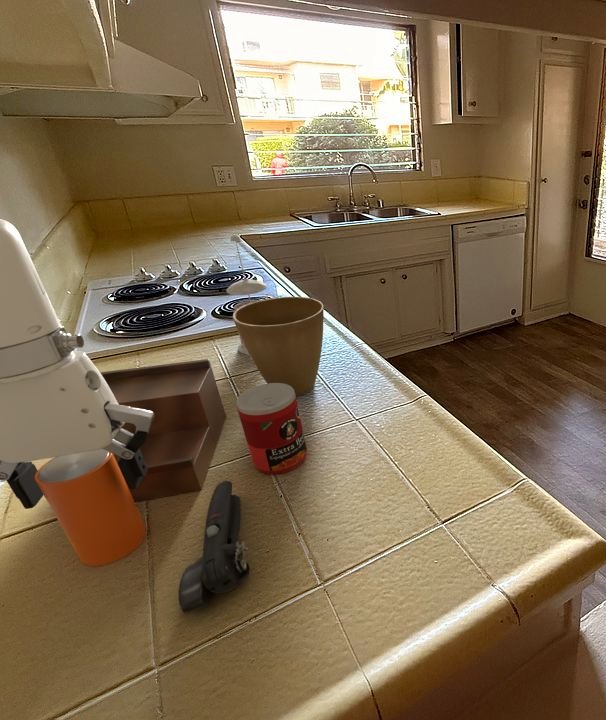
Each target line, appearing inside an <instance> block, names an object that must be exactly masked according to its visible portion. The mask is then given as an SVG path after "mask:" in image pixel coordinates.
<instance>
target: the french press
mask: <svg viewBox="0 0 606 720" xmlns="http://www.w3.org/2000/svg"><path fill="white" fill-rule="evenodd" d="M240 241H242V240H241V237H240V235H238V234H232V235H231V236H230V242H235V246H236V250H237V255H238V258H239V263H240V266H241V271H242V275H243V279H242V280H238V281H236V282H234V283H231V284H230V285H229V286H228V287H227V288H226V290H225V291H226V293H227V294H229V295H231V296H248V300H244V301H241V302H239V303H236V304H235V305H234V306H233V311H236V310H237V309H239V308H241V307H243V306H245V305H247V304H250V303H254V302H257V301H261V300H264V298H265V300H266V299H270V298H269V296H270V297H271V298H276V297H275V296H274V295H272V294H271V293H266V295H262V296H261V299H252V300H251V296H250V295H254V294H258V293H261V292H264V291H265V290H266V289H267V287H268V284H267V283H266V282H263V281H262V280H255V279H252V278H251V279H250V278H248V279H246V275H245V271H244V266H243V263H242V259H241V255H240V251H239V247H238V243H237V242H240ZM237 332H238V331H237ZM238 336H239V341H240V343H239V345H238V346H237V351H238V352H239V353H240V354H245V355H249V353H248V351H247V349H246V347H245V345H244V343H243V341H242V339H241V337H240V334H239V332H238Z"/></svg>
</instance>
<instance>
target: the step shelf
mask: <svg viewBox="0 0 606 720" xmlns="http://www.w3.org/2000/svg"><path fill="white" fill-rule="evenodd" d="M211 364H212V363H211V361H210V358H205V359H198V360H189V361H181V362H174V363H173V362H172V363H166V364H156V365H147V366H140V367H132V368H125V369H124V368H123V369H116V370H108V371H107V370H106V371H99V372H100V373H101V375H102V376H103V378H104V379H105V381H106V383H107V384H108V386H109V388H110V389H111V391H112V393H113V395H114V397H115V398H116V400H117V402H118V404H119V405H123V406H128V407H133V408H138V409H142V410H147V411H152V412H153V413H154V414H155V417H154V421H153V424H152V427H151V432H150V434H149V435H148V437H147V439H146V441H145V442H144V443H143V444H142V446H141V447H140V448H139V449H140V451H141V453H142V456H143V458H144V460H145V463H146V465H147V473H146V475H145V476H144V477H143V479H142V481H141V483H140V485H139V487H138V488H137V489H131V488H129V487H128V488H129V491H130V493H131V495H132V497H133V499H134V502H135V503H139V502H144V501H150V500H155V499H160V498H166V497H171V496H176V495H183V494H188V493H192V492H197V491H198V492H199V491H202V490H203V486H204V484H205V481H206V478H207V474H208V472H209V469H210V467H211V463H212V460H213V457H214V454H215V453H216V449H217V446H218V443H219V440H220V437H221V434H222V432H223V428H224V425H225V422H226V419H227V413H226V410H225V408H224V404H223V400H222V397H221V394H220V390H219V388H218V387H219V386H218V384H217V381H216V378H215V374H214V371H213V368H212V365H211ZM120 428H122V429H124V430H126V431H128V432H130V433H132V434H134V433H135V431H136V426H135V425H134V424H131V423H126V422H125V424H124V426H122V427H120ZM114 440H116V439H114ZM116 441H118V440H116ZM118 442H120V441H118ZM120 443H122V442H120ZM122 444H124V443H122ZM124 445H126V444H124ZM113 455H114V457H115V460H116V462H117V464H118V461H119V459H120V458H121V457H119V456H117V455H115V454H113ZM120 471H121V470H120ZM121 473H122V472H121ZM122 475H123V474H122ZM123 477H124V476H123ZM125 482H126V481H125ZM126 484H127V483H126ZM127 486H128V485H127Z"/></svg>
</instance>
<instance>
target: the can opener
mask: <svg viewBox="0 0 606 720" xmlns="http://www.w3.org/2000/svg"><path fill="white" fill-rule="evenodd" d="M211 495H212V496H211V498H210V500H209V505H208V509H207V514H206V520H205V526H204V534H203V546H202V547H203V549H202V556H201V557H200V558H198V559H197V560H195V561H194V562H192V563H190V564H189V565H188V566H186V567H185V569H184V571H183V572H182V575H181V577H180V581H179V585H178V603H179V607H180V610H181V611H182V612H183V613H190V612H193V611H197V610H199V609H203V608H207V607H208V606H209V605H210V603H212V600H213V598H214V596H215V594H224V593H228V592H230V591H231V590H233V589H235V588H236V587H238V585H241V583H242V582H243V581H244V580H245V579H246V578H247V577H248V576H249V575H250V572H251V567H250V564H249V563H248V562H247V561H246V558H245V553H246V551H248V550H249V548H248V547H245V541H244V540H242V541H241V543H240V542H239V534H240V528H241V516H242V513H241V512H242V506H241V505H242V504H241V497H240V496H239V495H237V494H233V482H232V481H230V480H223V481H221V482H219V483H218V484H216V486H215V487H214V490H213V492H212V494H211Z"/></svg>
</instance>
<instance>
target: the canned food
mask: <svg viewBox="0 0 606 720" xmlns="http://www.w3.org/2000/svg"><path fill="white" fill-rule="evenodd" d="M235 404H236V410H237V413H238V417H239V421H240V425H241V427H242V430H243V435H244V438H245V441H246V444H247V448H248V450H249V454H250V455H249V456H250V458H251V461H252V464H253V466H254V467H255V468H256V470H258V471H259V472H260V473H263V474H266V475H277V474H278V475H280V474H283V473H288V472H290V471H293V470H294V469H296V468H297V467H300V465H301V464H302V463H303V462H304V460H306V457H307V452H308V447H307V441H306V438H305V433H304V428H303V427H304V426H303V423H302V418H301V413H300V408H299V404H298V400H297V396H296V395H295V392H294V389H293V388H292V387H291V386H289V385H287V384H283V383H268V384H267V383H262V384H259V385H255V386H253V387H250V388H248V389H246V390H245V391H243V392H242V393H240V394H239V395H238V397H237V398H236V401H235Z"/></svg>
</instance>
